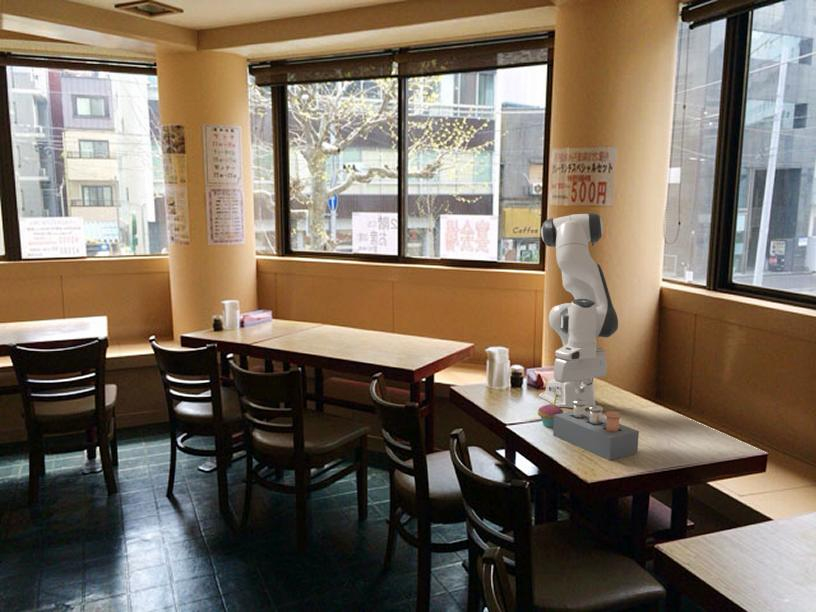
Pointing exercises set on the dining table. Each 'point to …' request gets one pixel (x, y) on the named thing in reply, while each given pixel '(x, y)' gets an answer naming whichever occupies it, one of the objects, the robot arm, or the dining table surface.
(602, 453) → the slate block
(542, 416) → the cupcake
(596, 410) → the steel plug
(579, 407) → the steel plug
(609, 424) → the terracotta plug
